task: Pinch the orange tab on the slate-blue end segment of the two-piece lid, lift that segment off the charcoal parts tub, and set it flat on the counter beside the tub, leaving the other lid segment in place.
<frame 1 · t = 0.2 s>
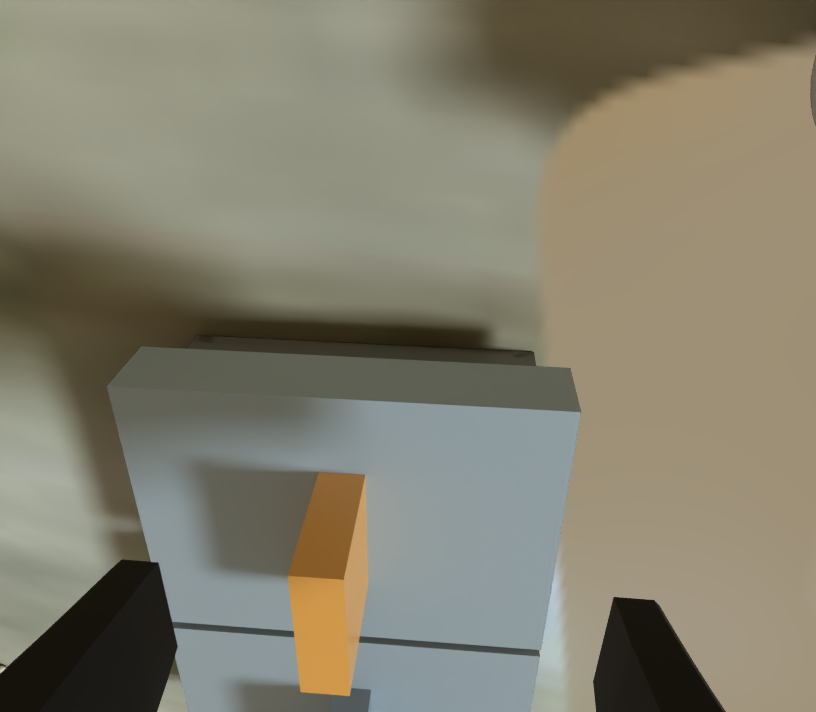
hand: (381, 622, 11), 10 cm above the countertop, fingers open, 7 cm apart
tabbed lid segment: (349, 510, 19), point 3 cm above the countertop, touching parts tub
parts tub: (367, 541, 24), on the countertop
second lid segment: (357, 702, 23), point 3 cm above the countertop, touching parts tub
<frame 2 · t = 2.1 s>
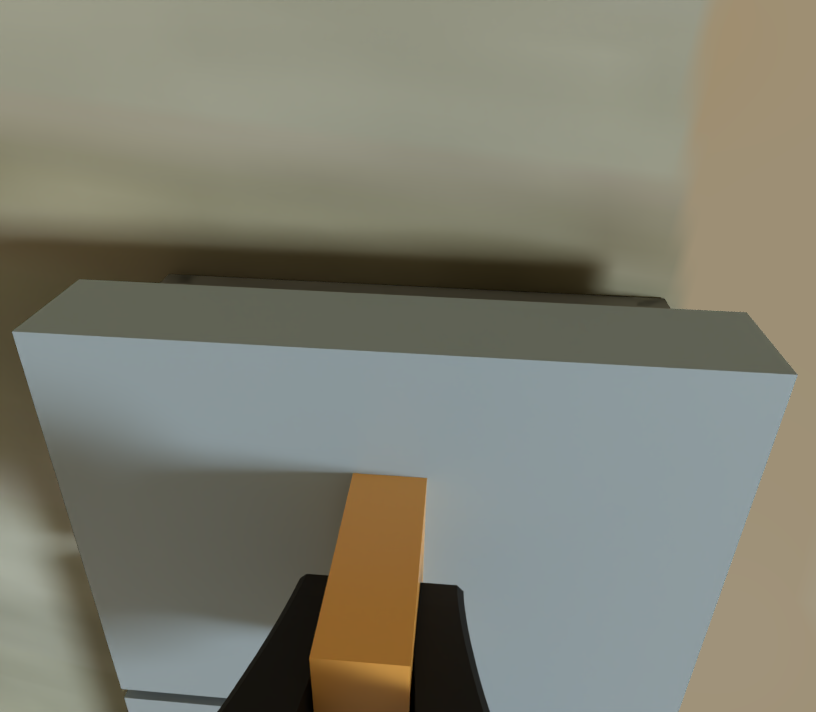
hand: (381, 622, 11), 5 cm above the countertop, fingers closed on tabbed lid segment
tabbed lid segment: (393, 531, 13), point 3 cm above the countertop, touching gripper, parts tub
parts tub: (404, 569, 17), on the countertop
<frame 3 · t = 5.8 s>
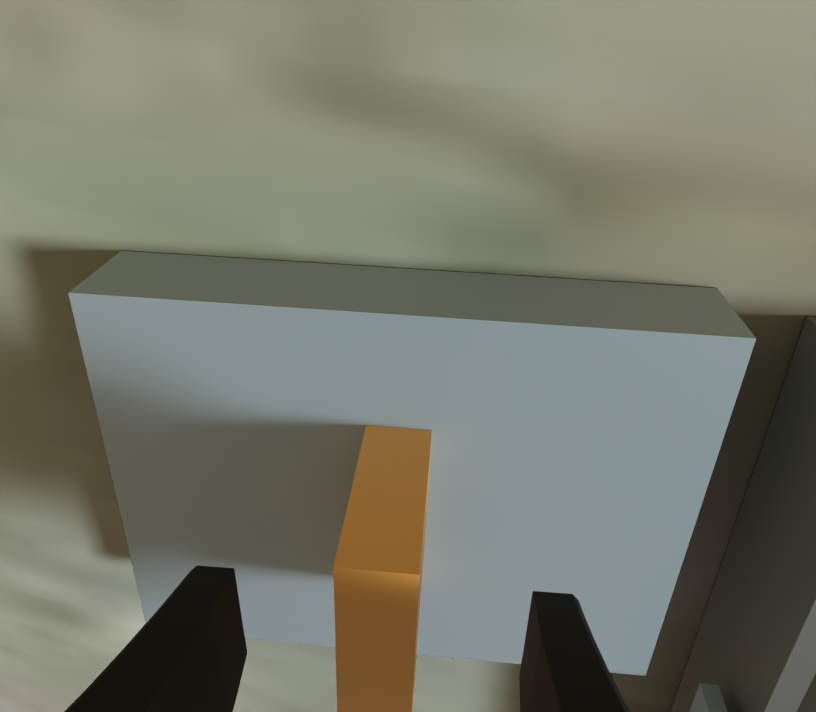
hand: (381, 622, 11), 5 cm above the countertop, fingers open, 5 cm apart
tabbed lid segment: (399, 483, 14), point 1 cm above the countertop
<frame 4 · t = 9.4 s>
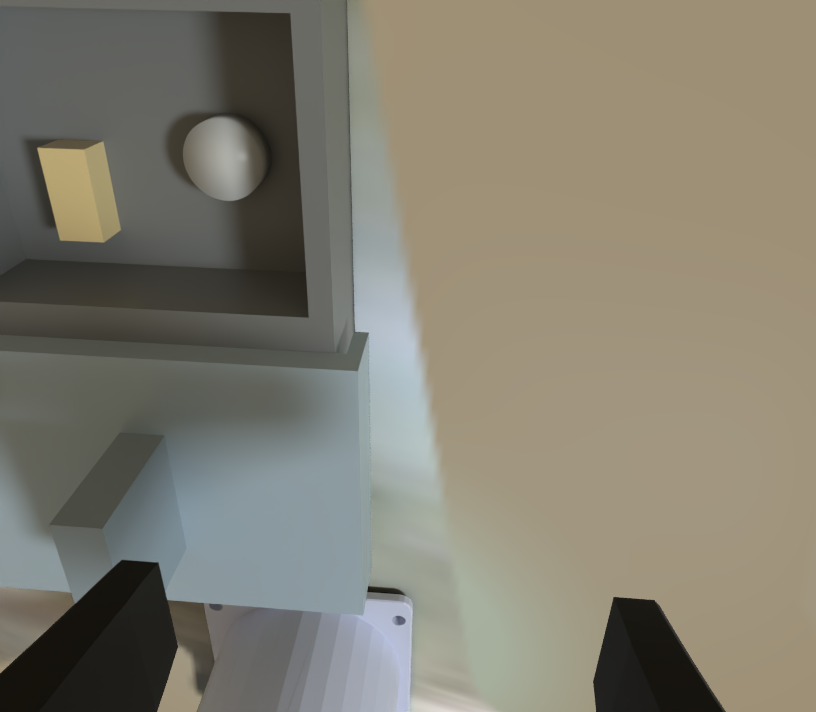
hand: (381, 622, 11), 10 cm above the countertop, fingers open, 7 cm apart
parts tub: (185, 286, 20), on the countertop
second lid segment: (166, 474, 19), point 3 cm above the countertop, touching parts tub
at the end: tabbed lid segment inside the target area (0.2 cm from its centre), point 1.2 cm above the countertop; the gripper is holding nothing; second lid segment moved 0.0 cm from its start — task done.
